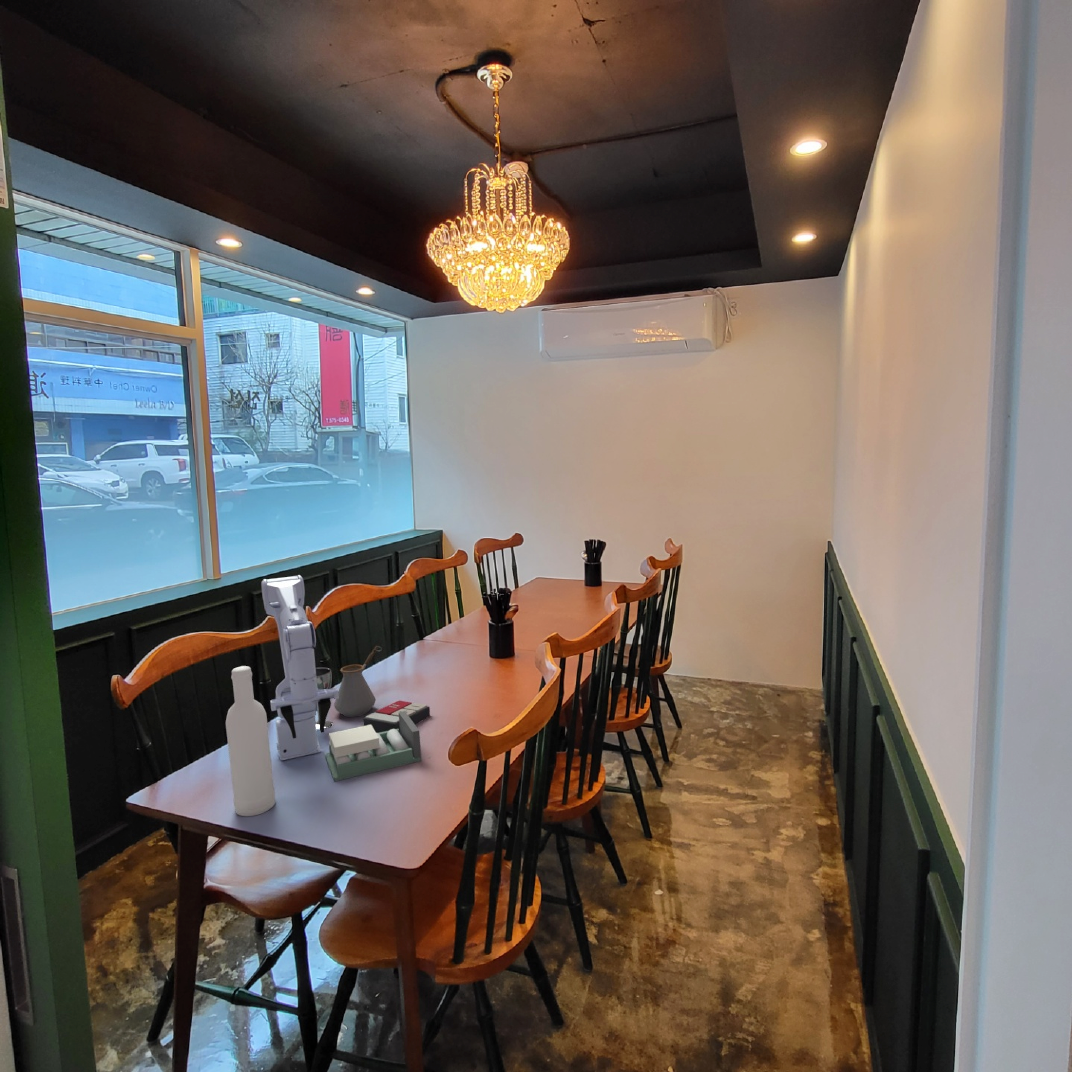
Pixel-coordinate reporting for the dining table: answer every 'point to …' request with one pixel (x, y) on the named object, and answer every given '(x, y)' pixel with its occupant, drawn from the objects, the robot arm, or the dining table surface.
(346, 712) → the coffee pot
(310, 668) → the robot arm
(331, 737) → the board
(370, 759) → the roller frame
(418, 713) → the calculator
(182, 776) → the dining table surface
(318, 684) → the wine glass
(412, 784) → the dining table surface
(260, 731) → the bottle
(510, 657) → the dining table surface
